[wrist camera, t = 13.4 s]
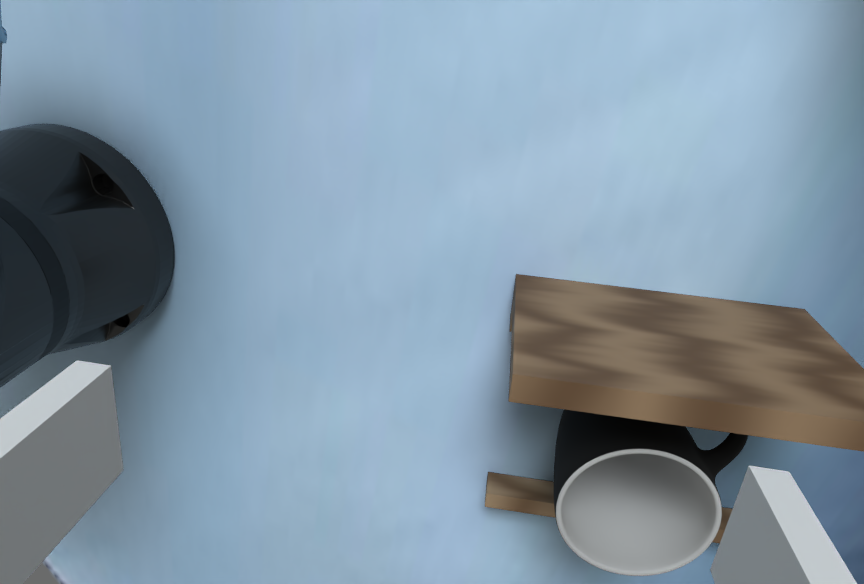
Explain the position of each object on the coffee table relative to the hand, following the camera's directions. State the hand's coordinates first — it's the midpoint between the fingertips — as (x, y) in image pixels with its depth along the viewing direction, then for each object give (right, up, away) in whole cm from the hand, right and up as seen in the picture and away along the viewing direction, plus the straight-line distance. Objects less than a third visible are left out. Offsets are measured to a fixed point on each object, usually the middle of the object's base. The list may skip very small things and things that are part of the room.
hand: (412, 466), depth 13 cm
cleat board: (+14, -4, +31) cm, 34 cm away
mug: (+14, -4, +31) cm, 34 cm away
